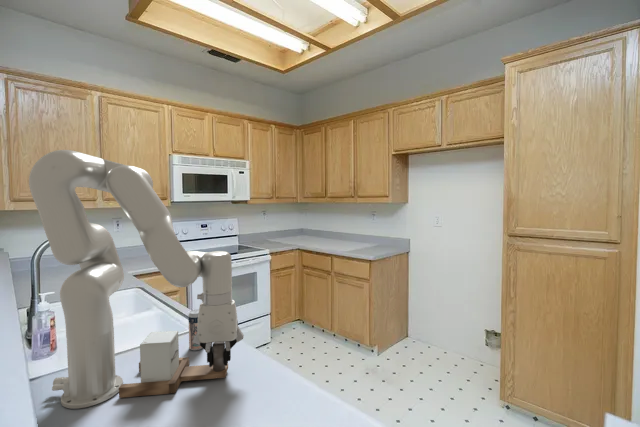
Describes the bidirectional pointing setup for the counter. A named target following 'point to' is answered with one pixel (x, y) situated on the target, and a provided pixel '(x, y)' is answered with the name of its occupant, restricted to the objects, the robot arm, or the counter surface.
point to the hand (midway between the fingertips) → (219, 363)
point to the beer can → (193, 329)
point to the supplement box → (159, 356)
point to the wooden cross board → (180, 376)
